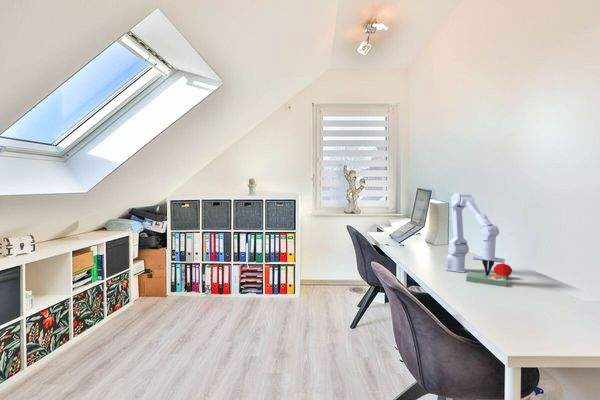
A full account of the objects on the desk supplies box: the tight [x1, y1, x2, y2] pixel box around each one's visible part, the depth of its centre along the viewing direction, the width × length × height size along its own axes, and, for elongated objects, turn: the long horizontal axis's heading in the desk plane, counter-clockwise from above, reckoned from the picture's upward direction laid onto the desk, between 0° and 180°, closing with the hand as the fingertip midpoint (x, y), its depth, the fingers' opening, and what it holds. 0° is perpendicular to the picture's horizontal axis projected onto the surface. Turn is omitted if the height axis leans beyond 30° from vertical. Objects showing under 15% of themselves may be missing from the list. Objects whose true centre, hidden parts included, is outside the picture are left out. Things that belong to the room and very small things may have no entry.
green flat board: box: [465, 271, 508, 288], centre depth 187 cm, size 18×11×2 cm, turn 62°
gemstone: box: [493, 263, 513, 279], centre depth 192 cm, size 9×9×10 cm
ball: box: [490, 273, 498, 279], centre depth 186 cm, size 4×4×4 cm
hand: (487, 275), depth 187 cm, fingers closed
